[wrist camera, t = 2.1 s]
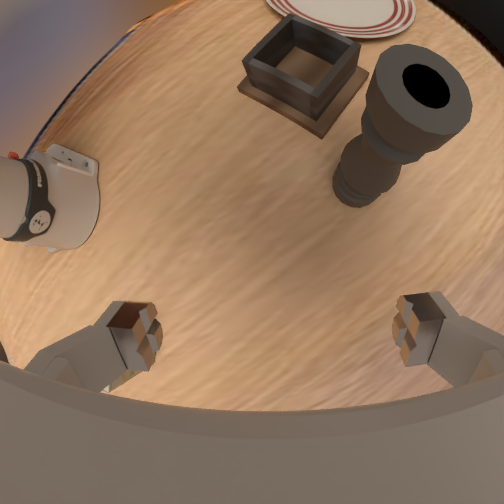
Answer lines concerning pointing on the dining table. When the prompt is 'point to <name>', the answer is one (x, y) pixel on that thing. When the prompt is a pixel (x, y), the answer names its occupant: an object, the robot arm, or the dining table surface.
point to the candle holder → (401, 121)
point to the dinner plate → (353, 15)
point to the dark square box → (304, 73)
